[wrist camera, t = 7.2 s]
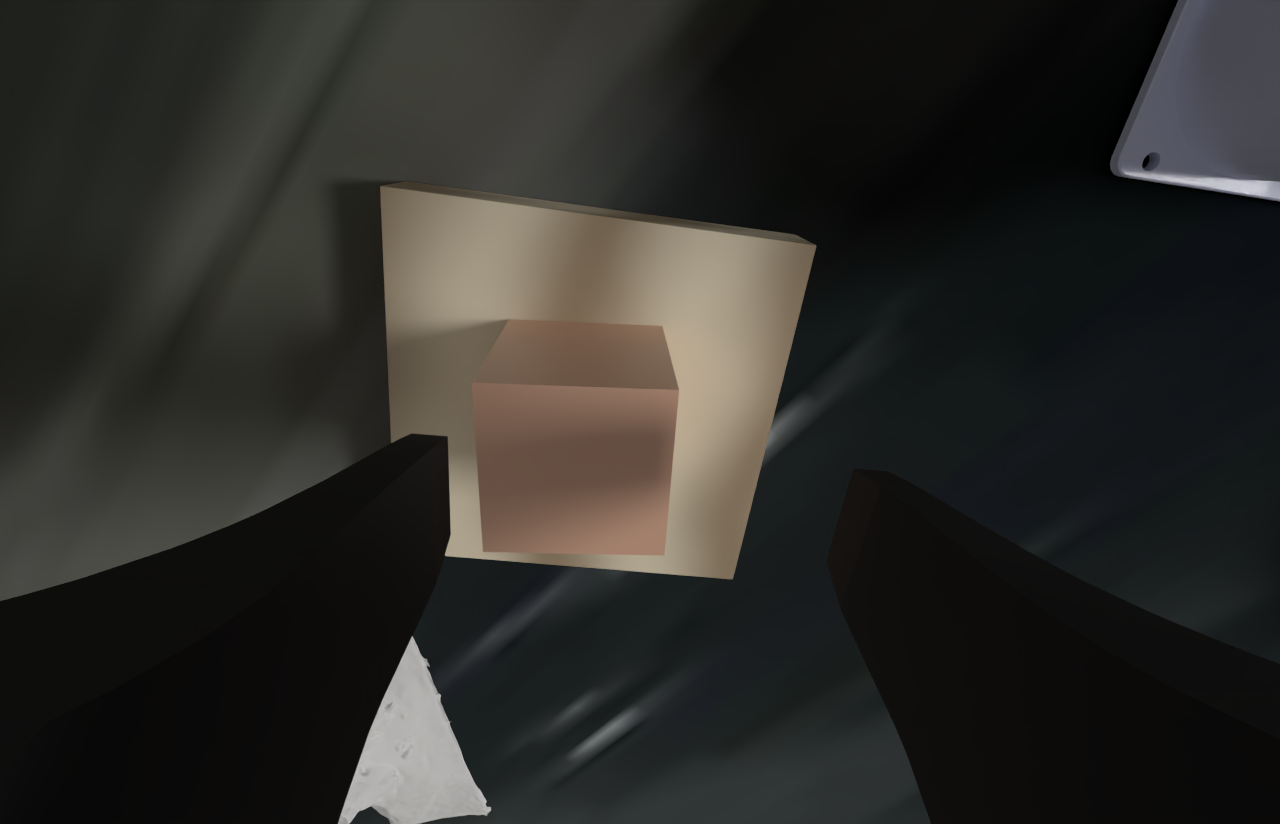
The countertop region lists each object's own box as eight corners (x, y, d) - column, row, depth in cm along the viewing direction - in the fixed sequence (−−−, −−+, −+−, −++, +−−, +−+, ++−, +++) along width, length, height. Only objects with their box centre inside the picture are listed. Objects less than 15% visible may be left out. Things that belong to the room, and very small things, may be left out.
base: (795, 234, 19) (816, 245, 17) (722, 542, 24) (732, 579, 22) (406, 181, 18) (379, 186, 16) (415, 515, 22) (395, 551, 20)
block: (662, 325, 18) (679, 390, 13) (652, 458, 19) (664, 555, 15) (509, 319, 17) (471, 382, 13) (514, 454, 19) (483, 552, 15)
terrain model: (-88, 650, 27) (-241, 757, 22) (377, 544, 24) (313, 640, 19) (135, 861, 33) (53, 977, 29) (519, 796, 31) (496, 913, 26)
